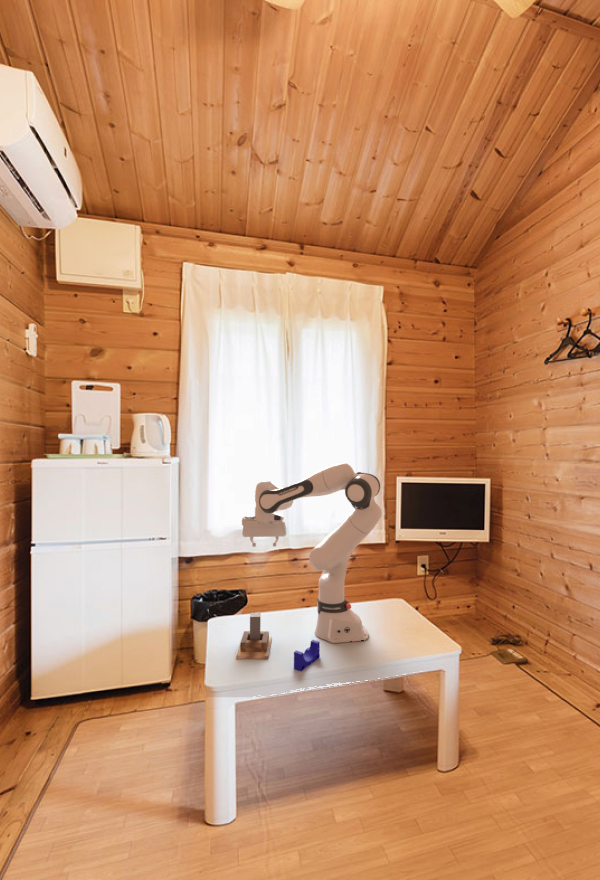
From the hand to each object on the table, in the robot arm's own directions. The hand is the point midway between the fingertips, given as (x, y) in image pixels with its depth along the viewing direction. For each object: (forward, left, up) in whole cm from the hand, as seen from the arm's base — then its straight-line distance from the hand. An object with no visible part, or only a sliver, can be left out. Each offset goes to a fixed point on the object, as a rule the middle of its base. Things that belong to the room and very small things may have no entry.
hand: (264, 546), depth 185 cm
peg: (+1, +26, -33) cm, 42 cm away
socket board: (+1, +26, -34) cm, 43 cm away
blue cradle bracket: (-19, +37, -34) cm, 54 cm away
